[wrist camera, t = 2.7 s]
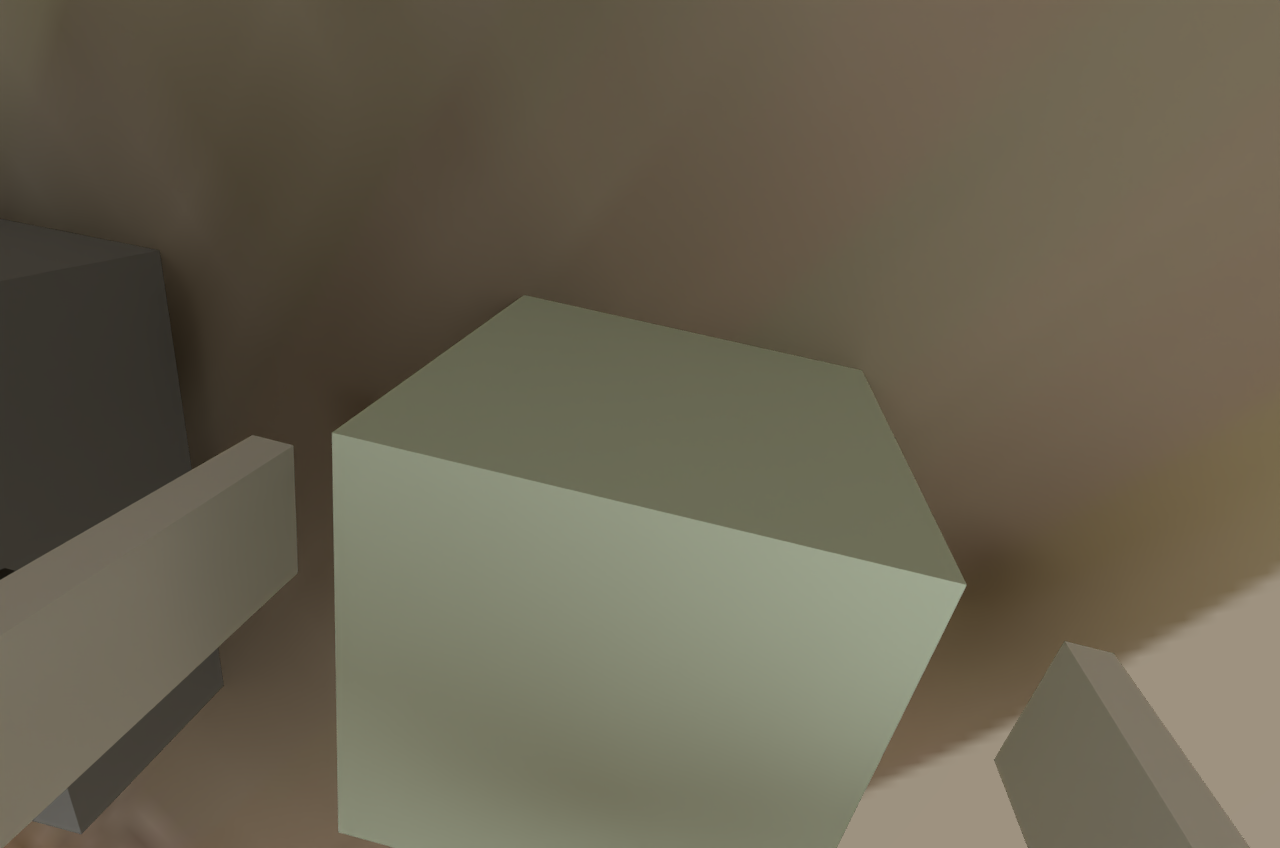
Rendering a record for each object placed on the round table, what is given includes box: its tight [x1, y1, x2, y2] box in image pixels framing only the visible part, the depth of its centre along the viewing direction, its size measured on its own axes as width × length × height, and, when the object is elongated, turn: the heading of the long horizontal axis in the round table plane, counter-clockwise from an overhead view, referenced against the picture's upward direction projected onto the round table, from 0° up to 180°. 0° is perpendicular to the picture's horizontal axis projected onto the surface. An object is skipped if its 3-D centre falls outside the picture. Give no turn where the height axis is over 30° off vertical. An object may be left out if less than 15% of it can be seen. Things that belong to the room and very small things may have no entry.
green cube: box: [332, 295, 967, 848], centre depth 12 cm, size 7×7×7 cm
